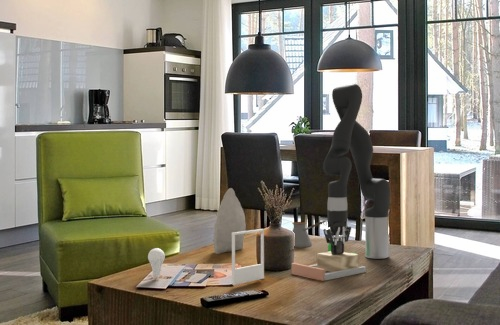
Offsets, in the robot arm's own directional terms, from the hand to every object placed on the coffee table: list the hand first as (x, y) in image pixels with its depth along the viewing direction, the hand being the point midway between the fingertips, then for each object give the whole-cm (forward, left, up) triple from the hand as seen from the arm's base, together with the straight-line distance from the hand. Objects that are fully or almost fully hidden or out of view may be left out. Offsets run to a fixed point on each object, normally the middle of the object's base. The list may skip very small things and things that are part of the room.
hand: (337, 253), depth 233 cm
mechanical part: (-22, -16, -7) cm, 28 cm away
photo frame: (+37, -9, -7) cm, 39 cm away
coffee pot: (-23, -39, -7) cm, 46 cm away
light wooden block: (0, 0, -6) cm, 6 cm away
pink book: (+4, 0, -7) cm, 8 cm away
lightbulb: (+59, -35, -7) cm, 69 cm away
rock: (+10, -55, -7) cm, 56 cm away
